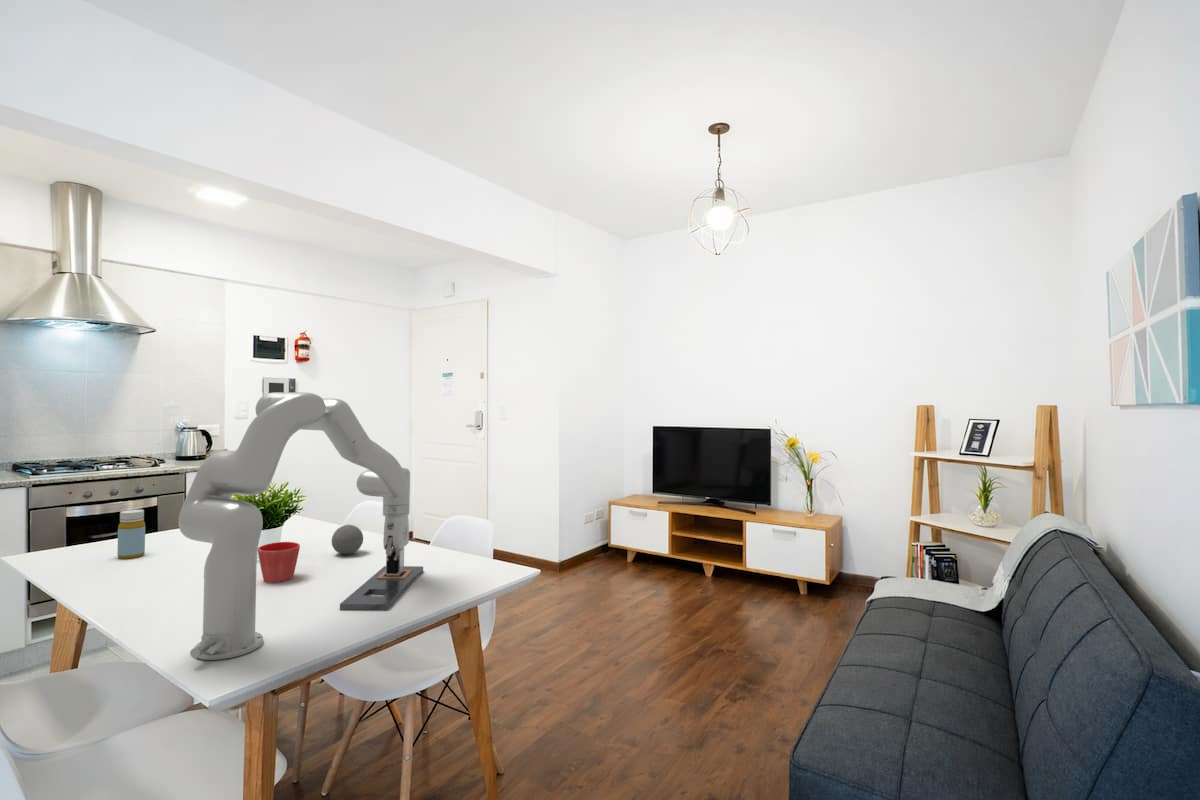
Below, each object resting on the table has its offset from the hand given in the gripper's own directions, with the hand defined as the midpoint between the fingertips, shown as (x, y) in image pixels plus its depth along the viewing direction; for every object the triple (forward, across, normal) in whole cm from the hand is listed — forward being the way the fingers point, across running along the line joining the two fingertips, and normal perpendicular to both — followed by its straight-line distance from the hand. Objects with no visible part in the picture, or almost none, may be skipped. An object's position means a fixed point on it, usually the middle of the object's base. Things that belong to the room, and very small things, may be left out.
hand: (394, 570), depth 173 cm
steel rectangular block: (+2, 0, 0) cm, 2 cm away
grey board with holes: (+3, -8, 0) cm, 9 cm away
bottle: (+3, +22, +93) cm, 96 cm away
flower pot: (+3, 0, +34) cm, 34 cm away
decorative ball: (+3, +28, +25) cm, 38 cm away
